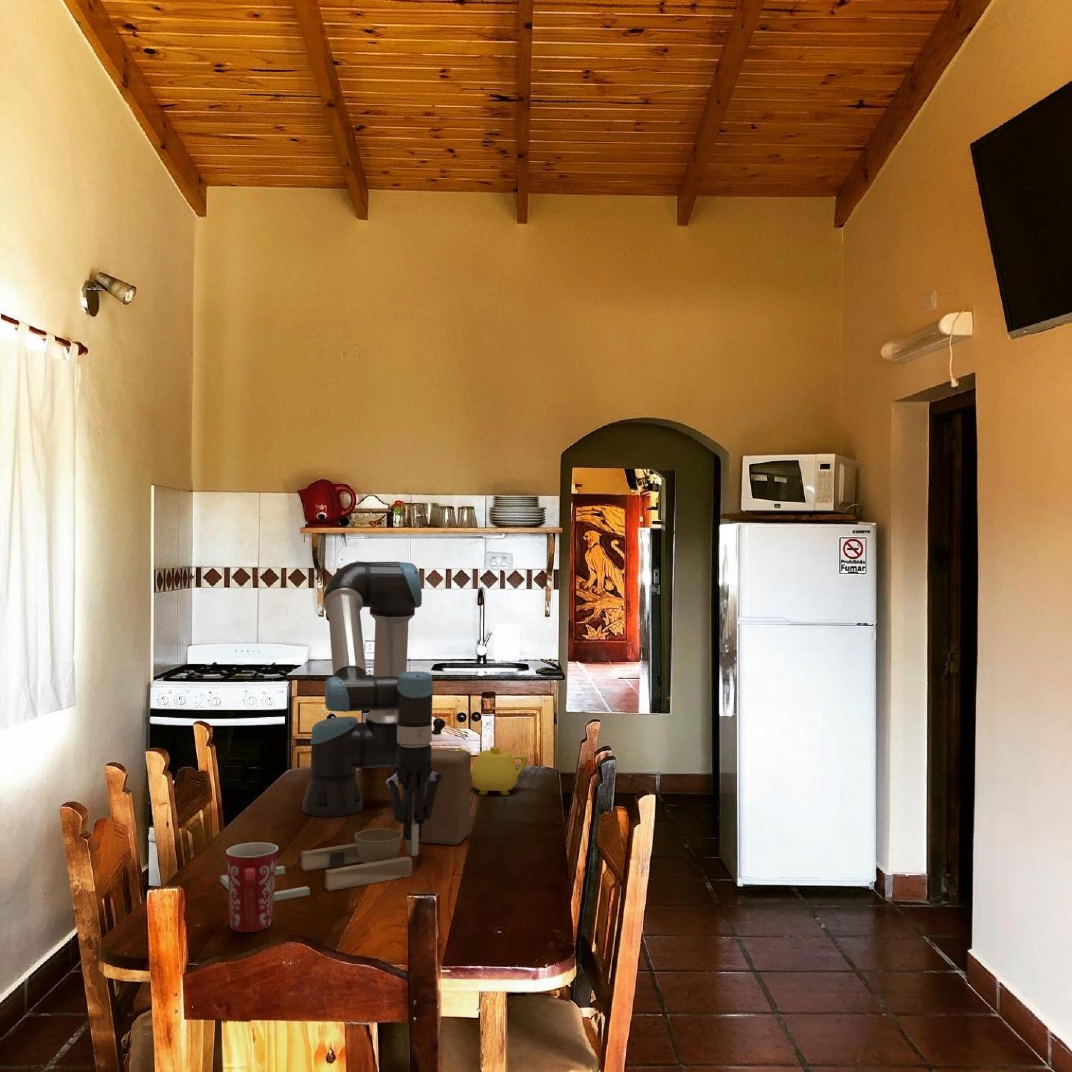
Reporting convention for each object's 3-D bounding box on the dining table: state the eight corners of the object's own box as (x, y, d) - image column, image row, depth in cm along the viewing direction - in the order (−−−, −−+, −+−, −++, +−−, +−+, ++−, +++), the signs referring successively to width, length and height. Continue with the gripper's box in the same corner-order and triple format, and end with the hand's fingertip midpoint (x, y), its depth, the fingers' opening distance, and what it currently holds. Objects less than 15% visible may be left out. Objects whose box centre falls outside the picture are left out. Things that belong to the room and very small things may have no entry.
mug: (227, 916, 178) (229, 842, 179) (278, 914, 180) (280, 840, 180) (218, 944, 166) (219, 864, 166) (273, 941, 168) (274, 862, 168)
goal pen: (220, 881, 197) (220, 875, 197) (282, 871, 204) (282, 865, 204) (244, 906, 183) (244, 900, 183) (309, 894, 190) (309, 888, 190)
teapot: (458, 784, 282) (459, 741, 283) (527, 786, 282) (528, 743, 282) (454, 796, 269) (454, 751, 269) (526, 797, 269) (527, 752, 269)
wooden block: (458, 846, 223) (460, 758, 223) (416, 843, 225) (418, 756, 225) (470, 834, 233) (471, 750, 233) (430, 831, 235) (431, 747, 235)
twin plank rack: (301, 868, 206) (301, 851, 206) (380, 855, 216) (380, 839, 216) (329, 891, 193) (329, 873, 193) (411, 875, 202) (412, 858, 202)
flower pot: (410, 864, 210) (410, 830, 210) (388, 878, 201) (388, 843, 201) (368, 858, 213) (369, 825, 213) (345, 872, 204) (346, 838, 204)
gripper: (394, 750, 205) (391, 863, 205) (449, 744, 212) (447, 853, 212) (379, 743, 211) (377, 853, 211) (433, 738, 218) (431, 844, 218)
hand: (412, 853), depth 211 cm, fingers closed
